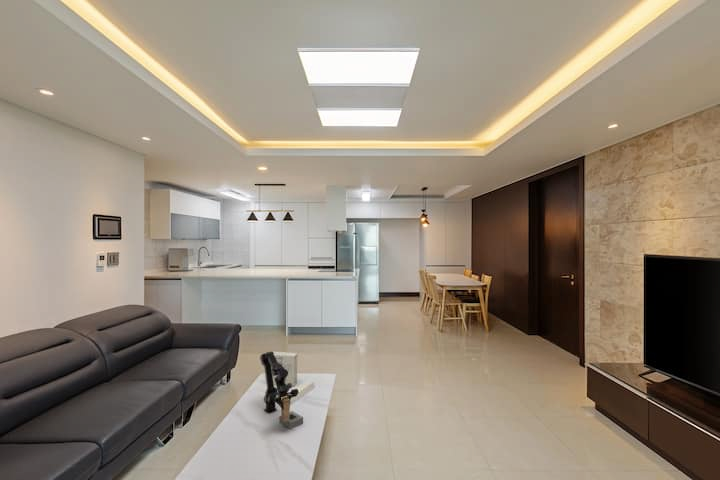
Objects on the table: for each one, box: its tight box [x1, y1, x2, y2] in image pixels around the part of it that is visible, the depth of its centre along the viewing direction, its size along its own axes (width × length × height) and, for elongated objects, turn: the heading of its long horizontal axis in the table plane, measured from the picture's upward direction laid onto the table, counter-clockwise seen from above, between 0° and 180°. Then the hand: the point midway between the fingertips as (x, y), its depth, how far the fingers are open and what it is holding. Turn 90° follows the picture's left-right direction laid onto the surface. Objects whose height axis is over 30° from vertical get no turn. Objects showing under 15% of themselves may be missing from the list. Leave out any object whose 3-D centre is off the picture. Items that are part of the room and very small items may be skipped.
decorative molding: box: [281, 381, 316, 406], centre depth 268 cm, size 34×5×10 cm
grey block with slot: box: [278, 410, 304, 430], centre depth 225 cm, size 12×10×4 cm
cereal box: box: [271, 351, 298, 388], centre depth 287 cm, size 22×8×25 cm, turn 81°
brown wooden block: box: [280, 397, 291, 421], centre depth 216 cm, size 5×4×12 cm
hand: (286, 409), depth 215 cm, fingers closed on brown wooden block, 3 cm apart
